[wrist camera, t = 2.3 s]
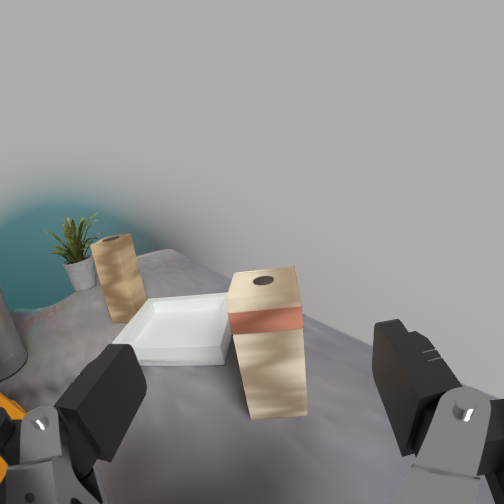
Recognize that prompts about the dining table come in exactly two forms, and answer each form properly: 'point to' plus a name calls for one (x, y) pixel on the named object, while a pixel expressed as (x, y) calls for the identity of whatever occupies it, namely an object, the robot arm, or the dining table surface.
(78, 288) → the house plant
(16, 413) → the bracket
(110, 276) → the oak post
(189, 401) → the dining table surface
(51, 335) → the dining table surface
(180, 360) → the tray
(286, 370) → the maple post
